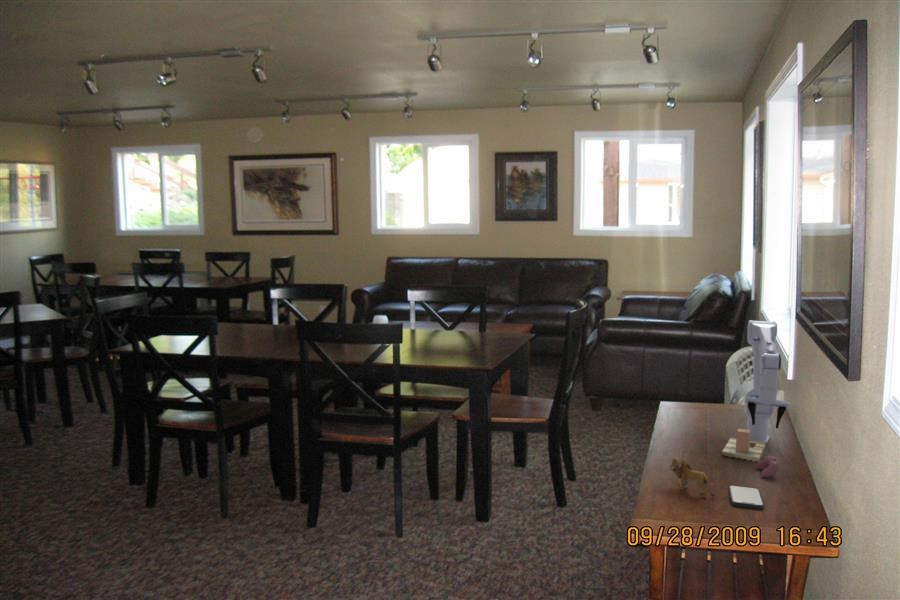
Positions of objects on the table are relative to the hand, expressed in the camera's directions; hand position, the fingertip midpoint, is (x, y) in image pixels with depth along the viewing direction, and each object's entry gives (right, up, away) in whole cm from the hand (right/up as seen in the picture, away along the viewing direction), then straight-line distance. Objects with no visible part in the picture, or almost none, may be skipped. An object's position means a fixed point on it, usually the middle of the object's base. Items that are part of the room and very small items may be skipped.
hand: (765, 425), depth 285 cm
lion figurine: (-38, -13, -41) cm, 58 cm away
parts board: (-7, -9, +1) cm, 12 cm away
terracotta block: (-9, -8, -3) cm, 13 cm away
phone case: (-23, -15, -46) cm, 54 cm away
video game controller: (-8, -12, -23) cm, 27 cm away
